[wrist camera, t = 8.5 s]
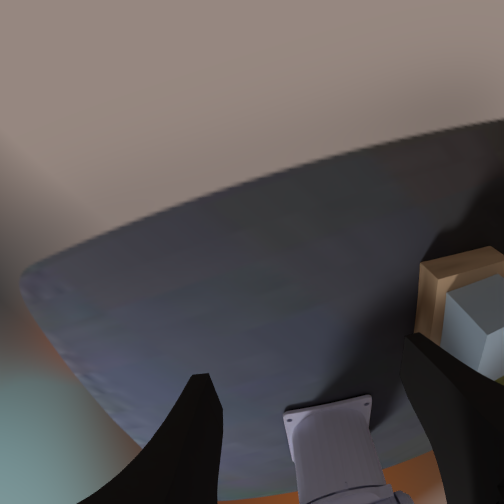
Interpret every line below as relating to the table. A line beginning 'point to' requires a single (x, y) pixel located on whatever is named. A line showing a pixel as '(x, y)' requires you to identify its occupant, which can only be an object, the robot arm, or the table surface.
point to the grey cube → (476, 326)
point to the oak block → (450, 284)
